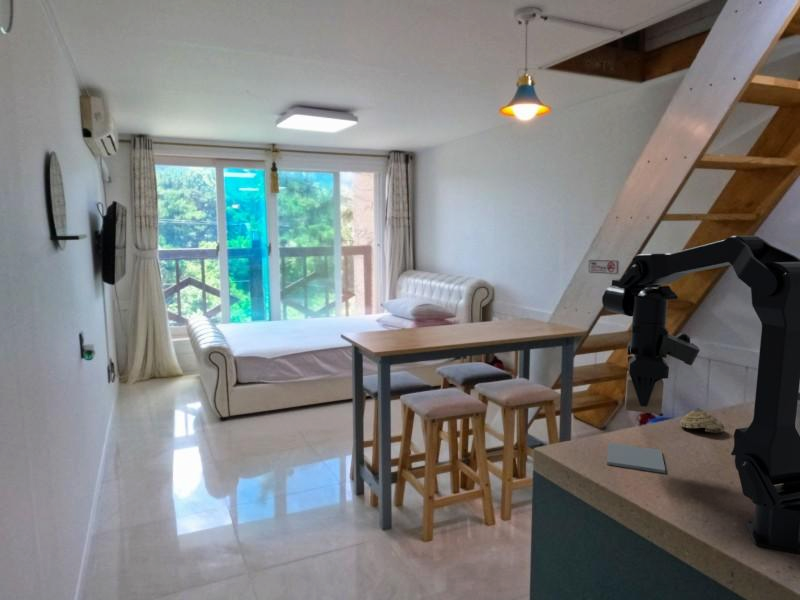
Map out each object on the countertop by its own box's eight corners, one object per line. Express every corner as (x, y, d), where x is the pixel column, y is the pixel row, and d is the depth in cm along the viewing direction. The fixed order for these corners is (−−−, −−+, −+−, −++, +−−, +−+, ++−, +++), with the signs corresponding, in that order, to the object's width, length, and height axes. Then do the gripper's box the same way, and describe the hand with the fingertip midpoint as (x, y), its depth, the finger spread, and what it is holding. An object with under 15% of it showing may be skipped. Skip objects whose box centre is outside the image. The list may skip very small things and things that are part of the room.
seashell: (721, 429, 111) (685, 406, 116) (708, 449, 113) (673, 426, 119) (733, 421, 117) (698, 400, 122) (720, 440, 119) (686, 419, 124)
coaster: (665, 473, 96) (665, 470, 96) (607, 464, 100) (607, 461, 100) (661, 452, 105) (661, 449, 105) (607, 445, 109) (608, 442, 109)
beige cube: (661, 414, 96) (663, 383, 95) (625, 409, 98) (627, 379, 97) (658, 404, 101) (661, 374, 101) (625, 400, 104) (627, 370, 103)
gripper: (706, 334, 86) (697, 424, 88) (691, 316, 103) (684, 391, 105) (632, 328, 90) (626, 414, 92) (629, 312, 107) (624, 385, 109)
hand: (642, 400), depth 100 cm, fingers closed on beige cube, 6 cm apart
